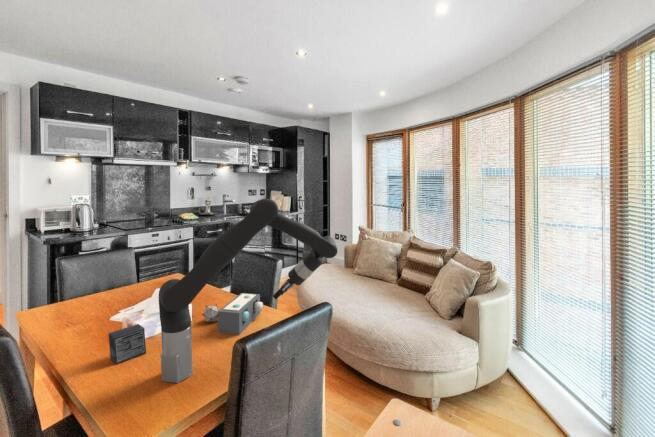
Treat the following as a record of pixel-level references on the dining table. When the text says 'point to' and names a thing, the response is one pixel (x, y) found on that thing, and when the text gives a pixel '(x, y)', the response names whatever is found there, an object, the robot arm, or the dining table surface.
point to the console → (237, 314)
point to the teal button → (245, 316)
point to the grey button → (258, 306)
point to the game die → (211, 313)
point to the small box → (127, 343)
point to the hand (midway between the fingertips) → (274, 297)
